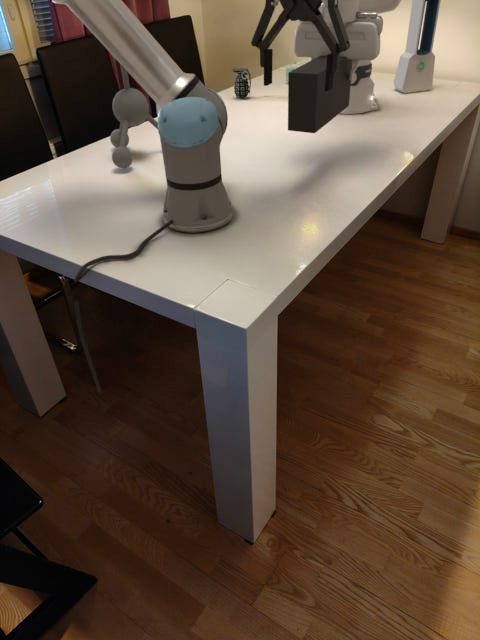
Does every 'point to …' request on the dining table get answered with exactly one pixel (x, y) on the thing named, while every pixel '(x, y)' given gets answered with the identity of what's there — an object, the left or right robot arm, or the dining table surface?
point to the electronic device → (419, 63)
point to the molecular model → (127, 119)
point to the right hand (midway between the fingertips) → (334, 78)
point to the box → (316, 94)
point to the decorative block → (295, 66)
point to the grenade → (242, 83)
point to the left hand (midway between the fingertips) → (297, 87)
